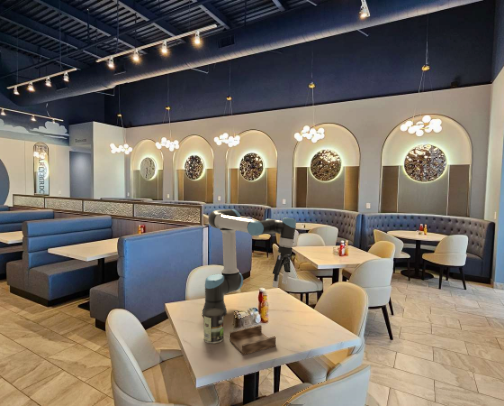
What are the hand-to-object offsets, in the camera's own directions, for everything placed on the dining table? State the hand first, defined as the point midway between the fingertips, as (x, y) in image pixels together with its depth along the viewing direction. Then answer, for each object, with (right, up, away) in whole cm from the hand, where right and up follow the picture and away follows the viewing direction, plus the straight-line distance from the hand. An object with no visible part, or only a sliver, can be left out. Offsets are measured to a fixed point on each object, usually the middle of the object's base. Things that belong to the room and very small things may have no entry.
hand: (279, 285), depth 159 cm
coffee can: (-35, -26, -6) cm, 44 cm away
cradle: (-15, -26, -11) cm, 32 cm away
